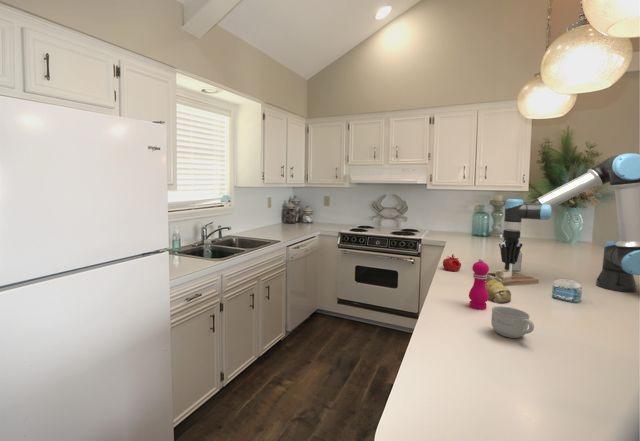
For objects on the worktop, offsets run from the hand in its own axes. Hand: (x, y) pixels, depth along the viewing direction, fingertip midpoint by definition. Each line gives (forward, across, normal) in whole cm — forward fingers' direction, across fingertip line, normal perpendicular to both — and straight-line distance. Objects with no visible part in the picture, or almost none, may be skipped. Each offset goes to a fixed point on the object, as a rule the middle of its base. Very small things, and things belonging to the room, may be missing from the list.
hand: (508, 276), depth 174 cm
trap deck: (+4, -3, -3) cm, 6 cm away
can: (+4, -25, -20) cm, 33 cm away
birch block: (+1, +3, 0) cm, 3 cm away
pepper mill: (+4, +42, +26) cm, 49 cm away
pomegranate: (+4, +12, -28) cm, 31 cm away
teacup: (+4, +51, +51) cm, 72 cm away
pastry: (+4, +26, +18) cm, 32 cm away
